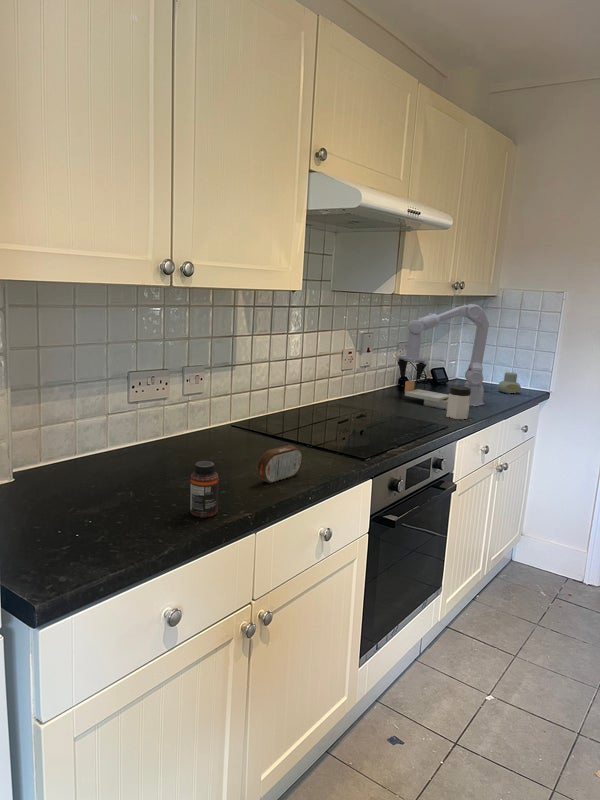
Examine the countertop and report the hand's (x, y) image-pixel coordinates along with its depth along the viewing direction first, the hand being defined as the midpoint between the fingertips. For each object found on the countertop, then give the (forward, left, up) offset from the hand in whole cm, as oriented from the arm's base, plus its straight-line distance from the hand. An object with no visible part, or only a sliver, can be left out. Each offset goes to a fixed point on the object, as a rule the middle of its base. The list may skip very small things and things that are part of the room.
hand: (410, 378), depth 269 cm
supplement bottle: (+153, +38, -10) cm, 158 cm away
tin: (+124, +34, -10) cm, 129 cm away
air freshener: (-62, +21, -10) cm, 66 cm away
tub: (0, +18, -10) cm, 21 cm away
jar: (+14, +30, -10) cm, 35 cm away
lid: (0, +8, -7) cm, 11 cm away
